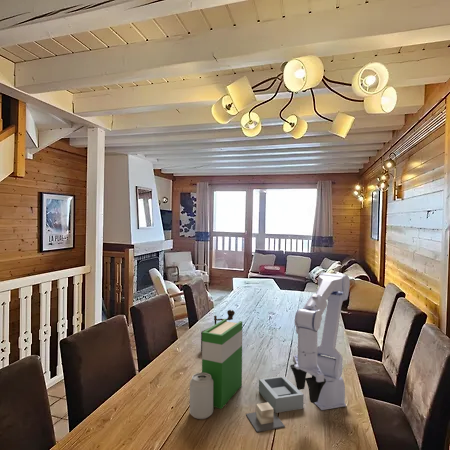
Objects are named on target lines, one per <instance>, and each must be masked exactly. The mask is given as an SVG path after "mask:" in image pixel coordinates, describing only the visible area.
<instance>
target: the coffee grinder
mask: <svg viewBox="0 0 450 450" xmlns="http://www.w3.org/2000/svg"><path fill="white" fill-rule="evenodd" d="M226 314H227V318H226V319H227V321H232V320H233V319H234V316H235V311H234V310H233V309H229V310H227V312H226ZM213 317H214V318H213V321H214V325H215V324H217V322H218V321H219V322H220V321H222V320H224V319H225V318H217V315H216V314H215V315H214V316H213ZM209 328H210V327H208V328H206V329H204V330H202V331H201V332H200V351H201V352H202V332H204V331H205V330H207V329H209Z"/></svg>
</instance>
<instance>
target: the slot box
mask: <svg viewBox="0 0 450 450" xmlns="http://www.w3.org/2000/svg"><path fill="white" fill-rule="evenodd" d="M258 393H259V394H260V395H261V396H262V398H263V399H264V400H265V401H266V403H267V402H268V403H269V404H270V405H271V406H272V408H273V409H274V412H275V414H277V413H283V412H289V411H296V410H301V409H304V398H305V397H304V393H303V392H302V391H301V390H298V389H297V386H296V385H295V384H293V382H291V381H290V380H289V378H287V377H286V376H285V375H279V376H278V375H277V376H271V377H264V378H259V379H258Z"/></svg>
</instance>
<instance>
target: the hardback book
mask: <svg viewBox="0 0 450 450" xmlns="http://www.w3.org/2000/svg"><path fill="white" fill-rule="evenodd" d="M223 319H224V320H220V321H219V322H216V324H215V323H214V324H213V325H212V326H210V327H208V328H209V329H208V328H206V329H207V330H206V329H204V330H205V331H204V330H203V331H204V332H202V331H201V332H202V351H201V373H208V374H210V375H211V378H212V379H213V408H217V409H221V410H222V409H223V408H224V407H225V406H226V404H227V403H228V402H229V401H230V400H231V399H232V397H233V396H234V395H235V394H236V393H237V392H238V391H239V390H240V388H241V387H242V385H243V321H242V320H241V321H238V322H232V321H228V320H227V318H223Z"/></svg>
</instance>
